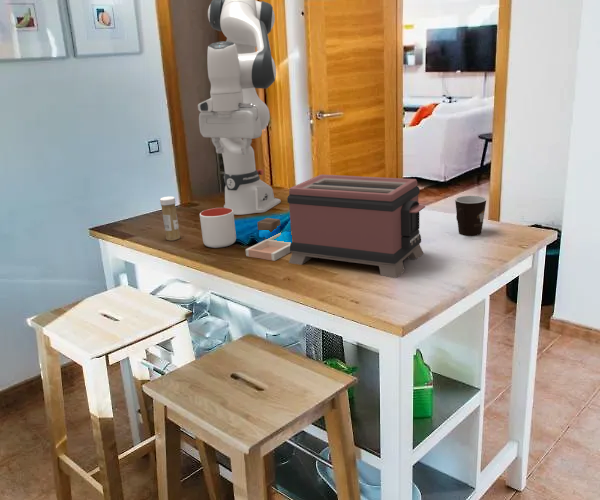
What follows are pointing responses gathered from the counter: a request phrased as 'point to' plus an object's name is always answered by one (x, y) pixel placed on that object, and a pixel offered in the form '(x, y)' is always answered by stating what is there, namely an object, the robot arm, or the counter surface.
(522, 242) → the counter surface
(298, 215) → the toaster
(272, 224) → the walnut block
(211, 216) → the cup
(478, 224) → the coffee mug
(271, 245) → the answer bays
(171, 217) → the sprinkles bottle
